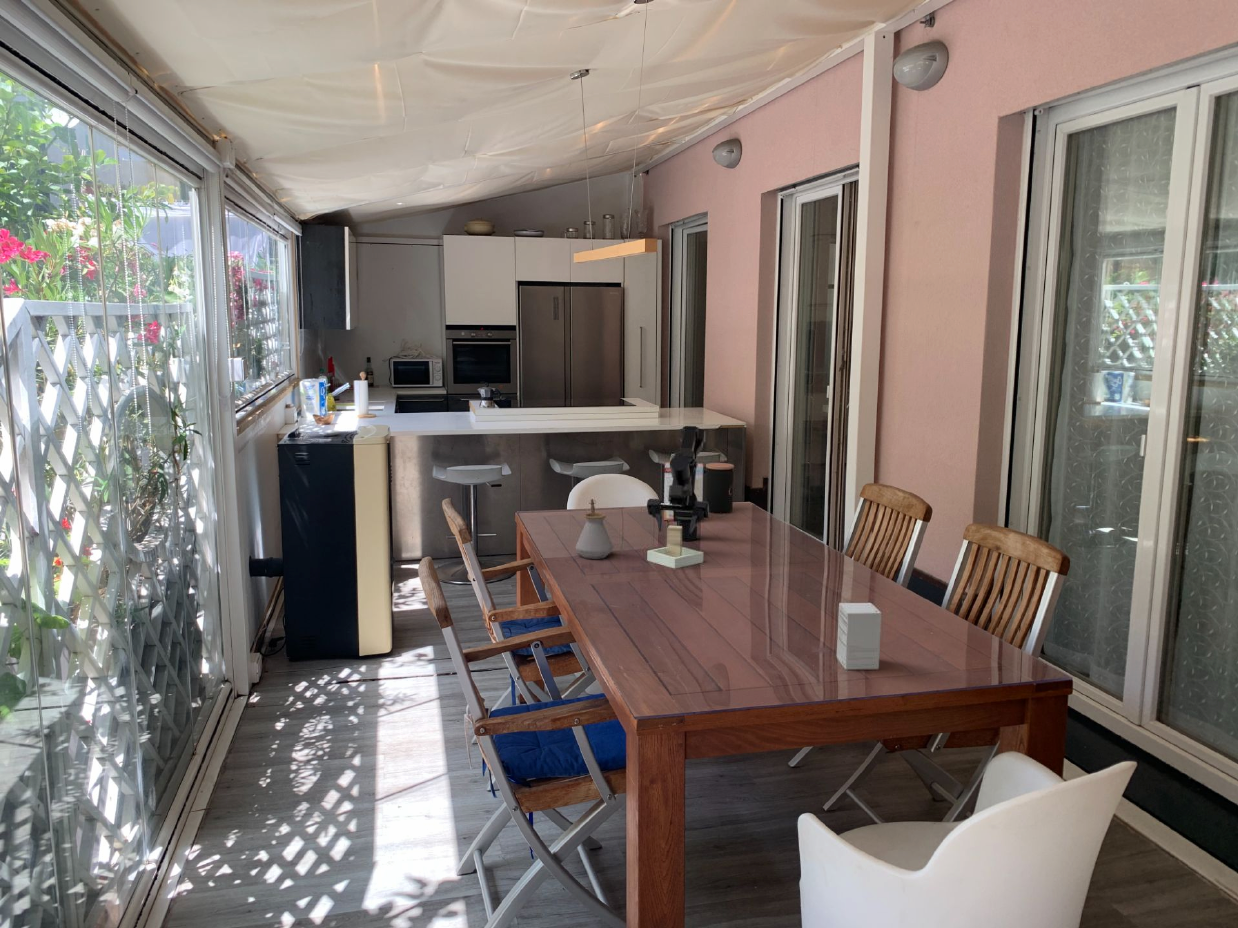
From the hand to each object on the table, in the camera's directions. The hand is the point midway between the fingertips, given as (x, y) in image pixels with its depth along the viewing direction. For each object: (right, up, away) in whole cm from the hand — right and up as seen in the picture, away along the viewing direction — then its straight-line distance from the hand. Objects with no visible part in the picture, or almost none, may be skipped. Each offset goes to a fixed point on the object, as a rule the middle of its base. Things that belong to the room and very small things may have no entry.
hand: (674, 531), depth 284 cm
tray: (0, -9, +1) cm, 9 cm away
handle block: (0, -8, +1) cm, 9 cm away
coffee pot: (-25, -7, +11) cm, 28 cm away
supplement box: (+34, -23, -81) cm, 91 cm away
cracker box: (+6, 0, +60) cm, 60 cm away
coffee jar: (+21, +2, +77) cm, 79 cm away
